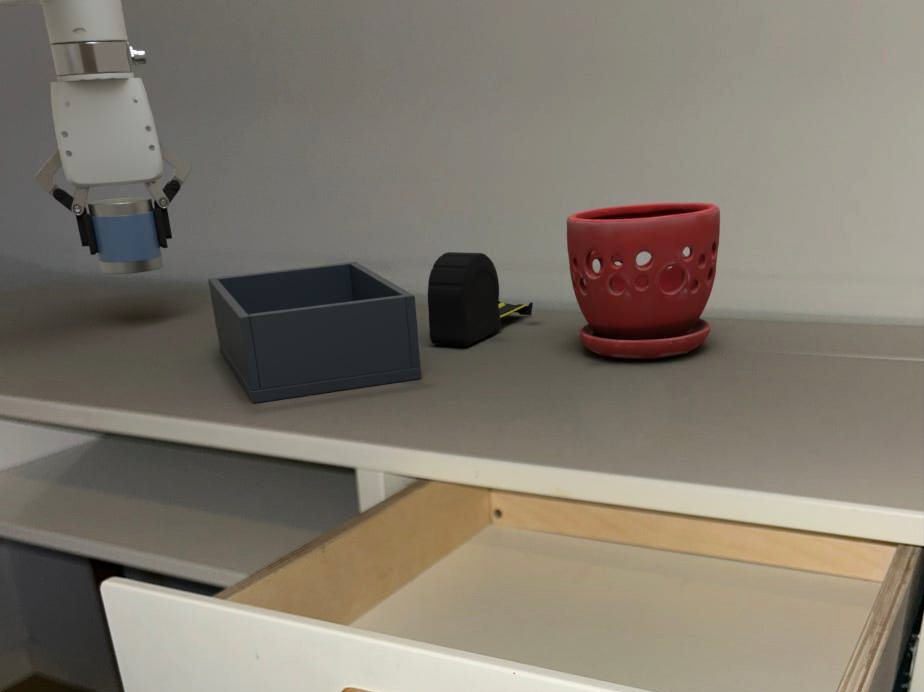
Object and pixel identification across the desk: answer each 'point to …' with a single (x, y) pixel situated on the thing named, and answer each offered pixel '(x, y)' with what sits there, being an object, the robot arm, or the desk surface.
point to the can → (125, 235)
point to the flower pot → (644, 277)
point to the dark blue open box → (315, 330)
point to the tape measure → (466, 299)
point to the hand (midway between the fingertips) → (128, 248)
